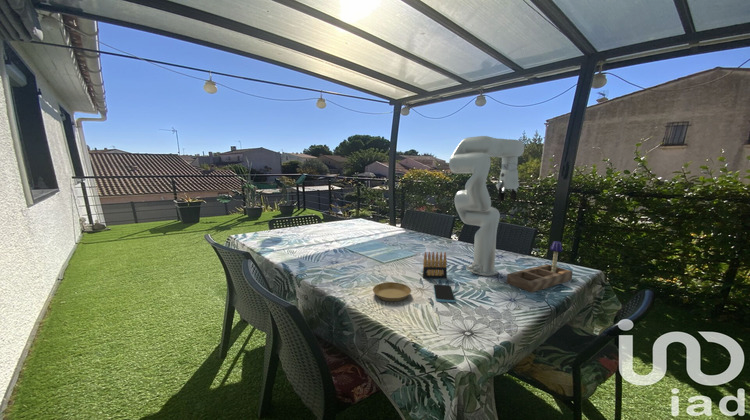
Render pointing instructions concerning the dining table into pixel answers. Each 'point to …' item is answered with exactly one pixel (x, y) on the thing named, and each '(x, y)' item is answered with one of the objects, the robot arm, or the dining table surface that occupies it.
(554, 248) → the toy lamp
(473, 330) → the dining table surface
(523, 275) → the tray
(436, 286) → the smartphone
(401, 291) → the plant saucer
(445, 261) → the ammunition clip
